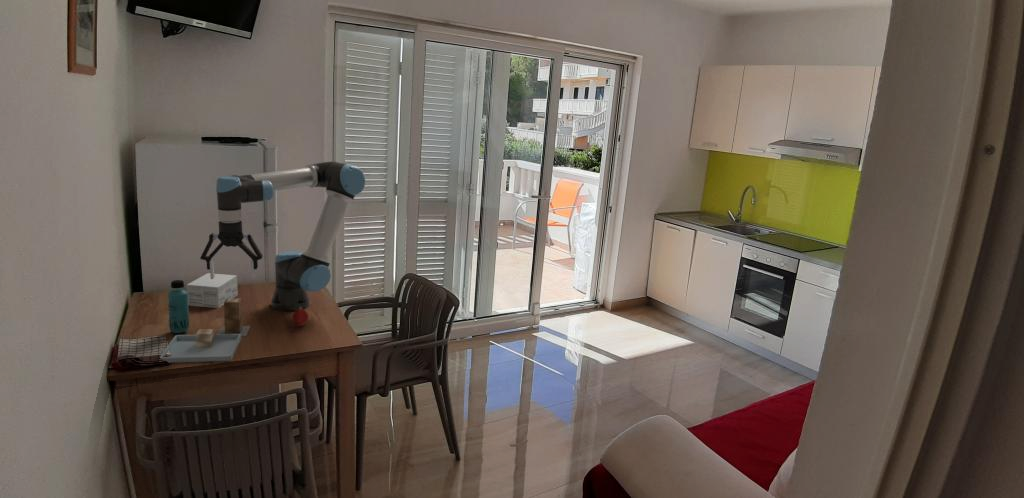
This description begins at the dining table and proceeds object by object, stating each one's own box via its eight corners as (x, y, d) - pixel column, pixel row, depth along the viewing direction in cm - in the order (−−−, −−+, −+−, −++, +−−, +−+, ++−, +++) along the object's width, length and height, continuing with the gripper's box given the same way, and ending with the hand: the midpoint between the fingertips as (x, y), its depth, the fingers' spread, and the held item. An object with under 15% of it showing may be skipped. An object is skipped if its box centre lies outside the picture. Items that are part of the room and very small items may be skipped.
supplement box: (208, 293, 259) (207, 272, 257) (238, 295, 259) (237, 275, 257) (186, 305, 243) (185, 284, 240) (218, 308, 243) (217, 286, 240)
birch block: (213, 342, 210) (213, 329, 209) (211, 347, 205) (210, 333, 204) (199, 342, 209) (199, 329, 207) (196, 347, 204) (196, 334, 203)
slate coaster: (250, 327, 226) (250, 325, 226) (246, 337, 217) (246, 335, 217) (221, 327, 224) (221, 326, 223) (216, 338, 214) (216, 336, 214)
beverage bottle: (174, 329, 218) (171, 277, 214) (193, 330, 219) (190, 278, 214) (165, 336, 212) (162, 283, 207) (185, 337, 213) (182, 284, 208)
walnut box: (242, 328, 223) (241, 297, 220) (239, 333, 218) (239, 302, 215) (227, 328, 222) (226, 297, 219) (225, 333, 217) (224, 302, 214)
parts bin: (241, 338, 215) (241, 333, 215) (231, 361, 197) (231, 356, 197) (175, 340, 210) (175, 335, 209) (159, 363, 191) (158, 358, 191)
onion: (293, 329, 227) (293, 310, 225) (291, 324, 232) (291, 305, 230) (309, 328, 230) (309, 308, 228) (307, 323, 235) (307, 304, 233)
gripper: (269, 218, 217) (271, 274, 222) (194, 217, 210) (197, 274, 216) (266, 223, 210) (268, 280, 215) (188, 222, 203) (192, 281, 209)
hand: (233, 277), depth 215 cm, fingers open, 13 cm apart
